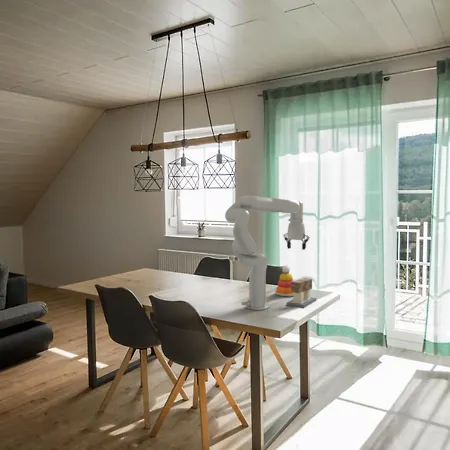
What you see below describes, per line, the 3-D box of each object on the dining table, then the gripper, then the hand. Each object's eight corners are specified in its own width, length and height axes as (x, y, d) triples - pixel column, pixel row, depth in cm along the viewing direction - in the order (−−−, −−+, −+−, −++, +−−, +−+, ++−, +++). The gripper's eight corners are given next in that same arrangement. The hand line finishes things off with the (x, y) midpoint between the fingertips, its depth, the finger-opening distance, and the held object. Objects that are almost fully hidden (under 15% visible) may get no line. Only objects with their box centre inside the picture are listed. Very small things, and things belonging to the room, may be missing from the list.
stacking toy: (279, 291, 290) (279, 262, 288) (300, 293, 283) (300, 264, 282) (271, 295, 277) (271, 265, 276) (292, 298, 270) (293, 267, 269)
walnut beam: (298, 293, 251) (298, 283, 251) (291, 291, 255) (291, 281, 254) (312, 288, 262) (312, 279, 262) (304, 287, 266) (305, 278, 265)
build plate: (304, 307, 248) (304, 294, 247) (286, 305, 253) (286, 292, 253) (316, 300, 264) (316, 288, 264) (299, 298, 270) (299, 286, 270)
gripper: (280, 221, 264) (280, 248, 266) (307, 221, 255) (307, 250, 256) (286, 220, 271) (286, 247, 272) (312, 221, 261) (312, 249, 262)
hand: (296, 248), depth 264 cm, fingers open, 9 cm apart
